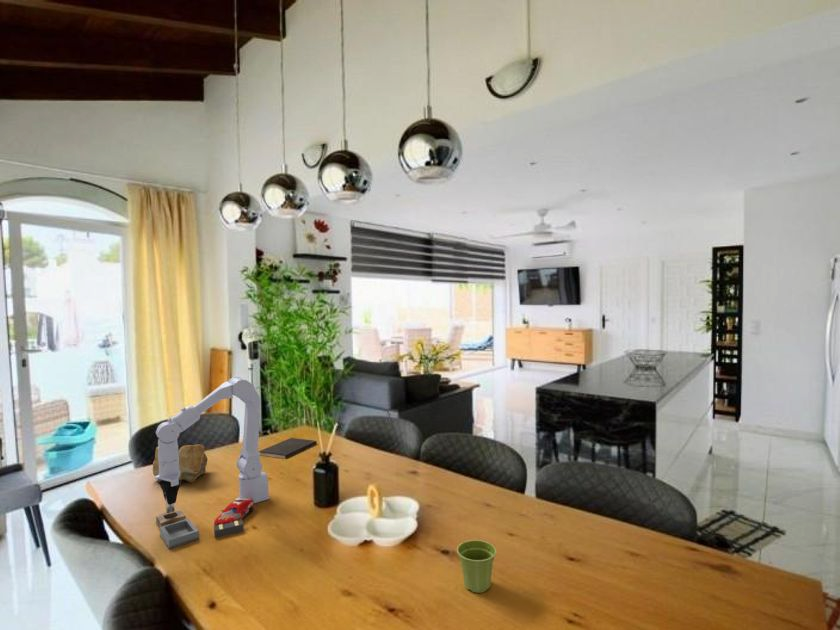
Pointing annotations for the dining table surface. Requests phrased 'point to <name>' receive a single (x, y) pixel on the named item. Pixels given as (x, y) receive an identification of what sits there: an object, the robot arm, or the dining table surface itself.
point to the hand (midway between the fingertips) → (170, 501)
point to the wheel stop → (228, 528)
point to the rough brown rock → (187, 462)
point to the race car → (235, 511)
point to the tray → (179, 533)
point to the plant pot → (476, 564)
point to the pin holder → (170, 518)
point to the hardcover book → (288, 448)
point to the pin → (170, 507)
